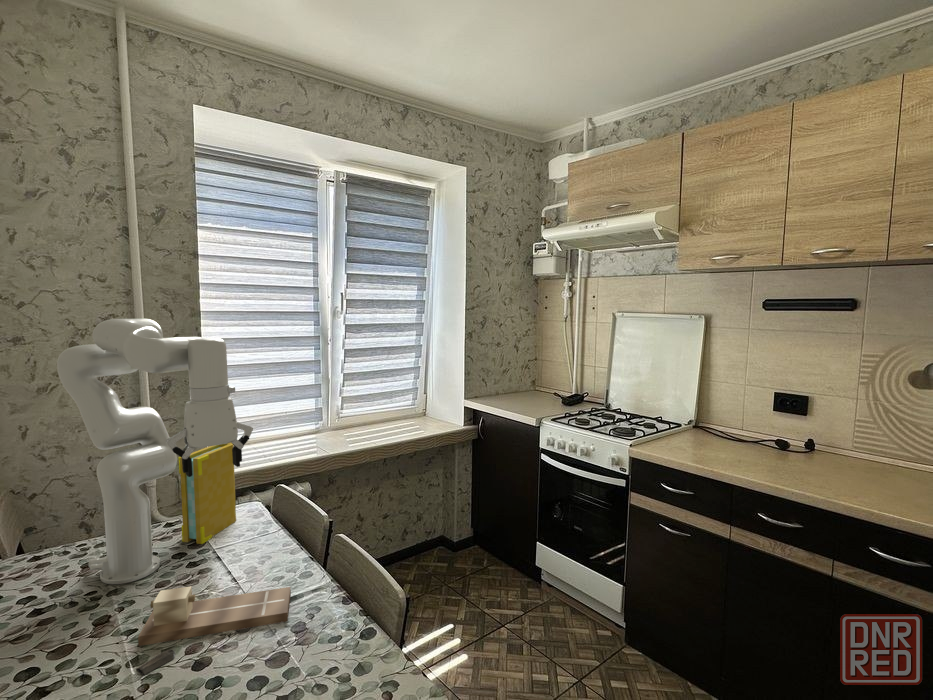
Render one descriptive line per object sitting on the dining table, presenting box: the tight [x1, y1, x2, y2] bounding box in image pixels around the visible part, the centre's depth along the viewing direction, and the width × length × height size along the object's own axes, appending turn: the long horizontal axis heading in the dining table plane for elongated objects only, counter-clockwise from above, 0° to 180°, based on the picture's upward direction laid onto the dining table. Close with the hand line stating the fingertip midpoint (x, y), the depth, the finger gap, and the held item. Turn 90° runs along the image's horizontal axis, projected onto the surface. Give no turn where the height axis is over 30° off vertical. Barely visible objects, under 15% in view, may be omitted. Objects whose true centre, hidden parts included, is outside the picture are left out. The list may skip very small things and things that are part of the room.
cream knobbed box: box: [150, 585, 196, 626], centre depth 101 cm, size 8×4×5 cm, turn 106°
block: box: [135, 648, 176, 676], centre depth 91 cm, size 4×6×2 cm, turn 150°
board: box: [137, 586, 292, 647], centre depth 104 cm, size 28×10×2 cm, turn 106°
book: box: [177, 443, 237, 545], centre depth 145 cm, size 17×7×25 cm, turn 168°
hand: (213, 470), depth 107 cm, fingers open, 9 cm apart
